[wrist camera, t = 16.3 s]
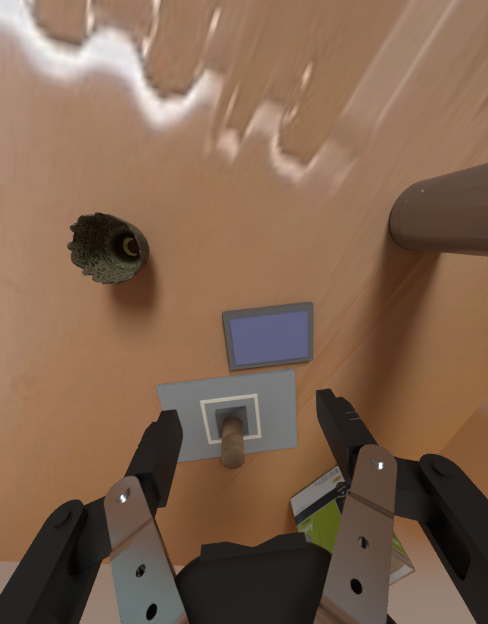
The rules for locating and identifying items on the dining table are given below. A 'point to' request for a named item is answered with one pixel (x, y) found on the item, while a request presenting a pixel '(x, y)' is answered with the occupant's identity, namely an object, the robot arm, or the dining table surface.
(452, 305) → the dining table surface
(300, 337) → the ink pad
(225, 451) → the stamp
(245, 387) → the board
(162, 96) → the dining table surface
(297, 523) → the tea box
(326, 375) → the dining table surface
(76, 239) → the cup
